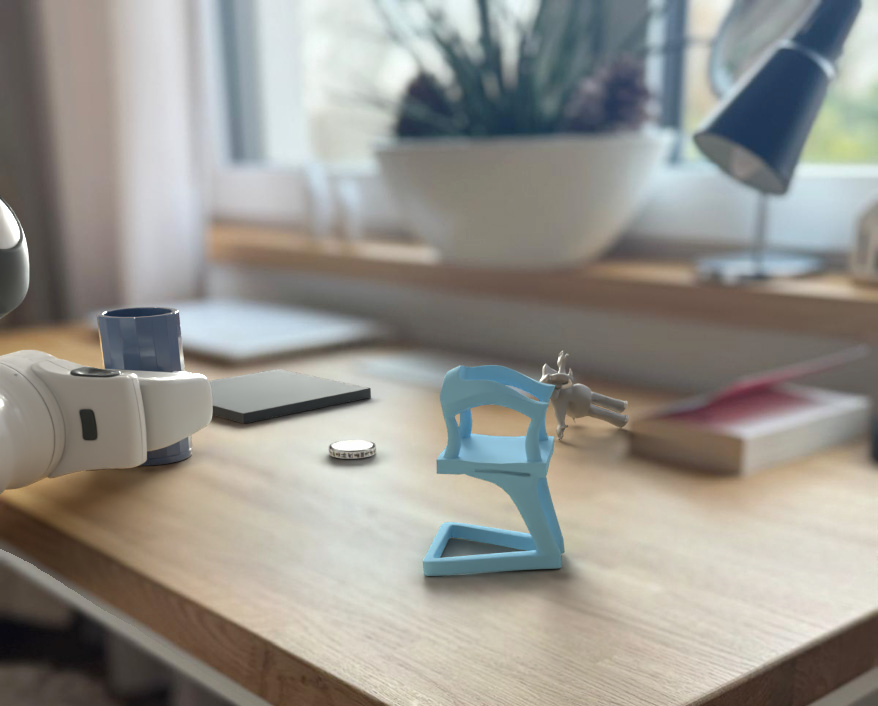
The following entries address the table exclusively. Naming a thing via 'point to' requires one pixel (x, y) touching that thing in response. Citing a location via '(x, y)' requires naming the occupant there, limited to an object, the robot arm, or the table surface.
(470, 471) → the chair
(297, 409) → the mat
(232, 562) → the table surface
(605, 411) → the grey figurine
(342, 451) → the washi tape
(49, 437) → the robot arm
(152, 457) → the cup
